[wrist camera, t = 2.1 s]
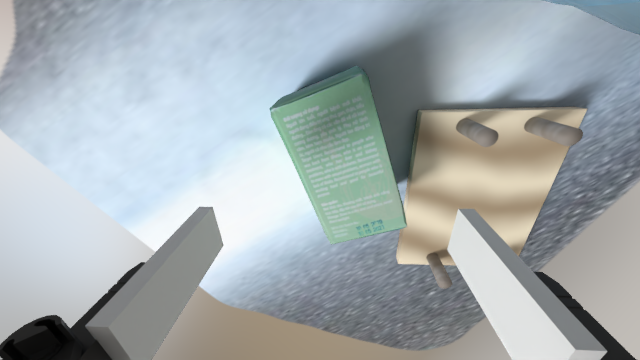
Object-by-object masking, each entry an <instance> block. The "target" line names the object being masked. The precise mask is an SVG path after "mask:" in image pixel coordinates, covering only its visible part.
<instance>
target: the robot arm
mask: <svg viewBox="0 0 640 360" xmlns="http://www.w3.org/2000/svg"><path fill="white" fill-rule="evenodd" d="M543 1H547V2H551V3H555V4H562V5H572V6H574V7H576V8H578V9H581V10H583V11H585V12H587V13H589V14H592V15H594V16H596V17H598V18H600V19H603V20H605V21H607V22H609V23H611V24H613V25H615V26H617V27H619V28H621V29H624V30H627V31H630V32H633V33H636V34H640V0H543ZM222 247H223V242H222V239H221V235H220V232H219V228H218V225H217V221H216V217H215V214H214V210H213V207H199V208H198V209H197V210H196V211H195V212H194V213H193V214H192V215H191V216H190V217H189V218H188V219H187V220H186V221H185V222H184V223H183V224H182V226H181V227H180V228H179V229H178V230H177V231H176V232H175V233H174V234H173V235H172V236H171V237H170V238H169V239H168V240H167V241H166V242H165V243H164V244H163V245H162V246H161V247H160V248H159V249H158V251H157V252H156V253H155V254H154V255H153V256H152V257H151V258H150V259H149V260H148V261H147V262H146V263H144V262H141V263H140V264H138V265H137V266H135V267H134V268H132V269H131V270H129V271H128V272H127V273H126V274H125V275H124V276H123V277H122V278H121V279H120V280H119V281H118V282H117V284H115V285H114V286H113V287H112V288H111V289H110V290H109V291H108V293H106V294H105V295H104V296H103V297H102V298H101V299H100V300H99V301H98V302H97V303H96V304H95V305H94V306H93V307H92V308H91V309H90V310H89V311H88V312H87V313H86V314H85V315H84V316H83V317H82V318H81V319H79V320H78V321H77V322H76V323H75V325H74V326H72V328H69V327H68V326H67V325H66V323H65V322H64V321H63V320H62V318H60V317H58V316H57V315H51V316H45V317H42V318H39V319H36V320H34V321H32V322H30V323H28V324H26V325H24V326H23V327H21V328H20V329H18V330H17V331H15V332H14V333H12V334H11V335H10V336H9V337H8V338H7V339H6V340H5V341H3V342H2V343H1V345H0V357H1V358H3V359H2V360H152V358H153V357H154V355H155V354H156V352H157V351H158V349H159V347H160V346H161V344H162V343H163V341H164V339H165V338H166V336H167V335H168V333H169V331H170V329H171V328H172V327H173V325H174V323H175V322H176V320H177V319H178V317H179V315H180V314H181V312H182V311H183V309H184V307H185V306H186V304H187V303H188V301H189V299H190V298H191V296H192V294H193V293H194V291H195V290H196V288H197V287H198V285H199V283H200V282H201V280H202V279H203V277H204V275H205V274H206V272H207V271H208V269H209V267H210V266H211V264H212V263H213V261H214V259H215V258H216V256H217V255H218V253H219V251H220V250H221V248H222ZM447 250H448V252H449V254H450V255H451V257H452V259H453V260H454V262H455V264H456V265H457V267H458V269H459V270H460V272H461V274H462V276H463V277H464V279H465V281H466V282H467V284H468V286H469V287H470V289H471V291H472V292H473V294H474V296H475V298H476V299H477V301H478V303H479V304H480V306H481V308H482V309H483V311H484V313H485V315H486V316H487V318H488V319H489V321H490V323H491V325H492V326H493V328H494V330H495V331H496V333H497V335H498V336H499V338H500V340H501V341H502V343H503V345H504V347H505V348H506V350H507V352H508V353H509V355H510V357H511V359H512V360H636V359H635V358H634V357H633V356H632V355H630V353H628V352H627V351H626V350H625V349H624V348H623V347H622V346H621V345H620V344H619V343H618V342H617V341H616V340H615V339H614V338H613V337H612V336H611V335H610V334H609V333H608V332H607V331H606V330H605V329H604V328H603V327H602V326H601V325H600V324H599V323H598V322H597V321H596V320H595V319H594V318H593V317H592V316H591V315H590V314H589V313H588V312H587V311H586V310H584V309H583V307H582V306H581V305H580V304H579V303H578V302H577V301H576V300H575V299H572V296H571V295H570V294H569V293H568V292H567V291H566V290H565V289H564V288H563V287H562V286H561V285H560V284H559V283H558V282H556V281H555V280H553V279H552V278H550V277H549V276H547V275H546V274H544V273H543V272H533V271H532V270H531V269H530V268H529V267H528V266H527V265H526V264H525V263H524V262H523V261H522V260H521V259H520V257H519V256H518V255H517V254H516V253H515V252H514V251H513V250H512V249H511V248H510V247H509V246H508V245H507V244H506V243H505V241H504V240H503V239H502V238H501V237H500V236H499V235H498V234H497V233H496V232H495V231H494V230H493V229H492V228H491V227H490V226H489V224H488V223H487V222H486V221H485V220H484V219H483V218H482V217H481V216H480V215H479V214H478V213H477V212H476V211H475V210H474V209H458V211H457V215H456V219H455V223H454V226H453V230H452V234H451V237H450V241H449V245H448V248H447Z"/></svg>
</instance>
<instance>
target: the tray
mask: <svg viewBox="0 0 640 360" xmlns="http://www.w3.org/2000/svg"><path fill="white" fill-rule="evenodd" d="M586 111H587V109H585V108H580V107H535V108H491V109H447V110H418V114H417V121H416V128H415V134H414V141H413V148H412V154H411V161H410V168H409V175H408V181H407V188H406V195H405V201H404V212H405V217H406V223H407V227H405V228H403V229H400V235H399V241H398V248H397V255H396V258H397V261H398V264H427V265H430V267H431V269H432V272H433V274H434V276H435V278H436V281H437V283H438V285H439V287H440V288H444V289H445V288H449V287H451V285H452V281H451V280H450V278H449V276H448V274H447V272H446V270H445V268H444V266H443V265H456V264H455V262H454V260H453V259H452V257H451V255H450V254H449V252H448V250H447V248H448V245H449V241H450V237H451V234H452V230H453V226H454V223H455V219H456V215H457V211H458V209H474V210H475V211H476V212H477V213H478V214H479V215H480V216H481V217H482V218H483V219H484V220H485V221H486V222H487V223H488V224H489V226H490V227H491V228H492V229H493V230H494V231H495V232H496V233H497V234H498V235H499V236H500V237H501V238H502V239H503V240H504V241H505V243H506V244H507V245H508V246H509V247H510V248H511V249H512V250H513V251H514V252H515V253H516V254H517V255H518V256H519V255H520V252H521V250H522V248H523V246H524V244H525V242H526V240H527V237H528V235H529V233H530V231H531V229H532V227H533V225H534V222H535V220H536V218H537V216H538V214H539V212H540V210H541V207H542V205H543V203H544V201H545V199H546V197H547V194H548V192H549V190H550V188H551V186H552V184H553V182H554V179H555V177H556V175H557V173H558V171H559V169H560V167H561V164H562V162H563V160H564V158H565V156H566V154H567V152H568V149H569V147H570V146H572V145H574V144H576V143H577V142H579V141H580V139H581V138H582V136H583V132H582V130H581V129H579V126H580V124H581V121H582V119H583V117H584V115H585V113H586Z"/></svg>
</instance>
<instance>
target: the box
mask: <svg viewBox="0 0 640 360" xmlns="http://www.w3.org/2000/svg"><path fill="white" fill-rule="evenodd" d="M270 111H271V117H272V119H273V121H274V123H275V125H276V127H277V129H278V131H279V134H280V136H281V138H282V140H283V142H284V144H285V146H286V148H287V150H288V153H289V155H290V157H291V159H292V161H293V163H294V165H295V168H296V170H297V172H298V174H299V176H300V179H301V181H302V183H303V185H304V188H305V190H306V192H307V194H308V196H309V199H310V201H311V203H312V205H313V208H314V210H315V212H316V214H317V217H318V219H319V221H320V223H321V225H322V228H323V230H324V232H325V234H326V236H327V238H328V240H329V241H330V243H331V244H335V243H340V242H344V241H349V240H353V239H358V238H362V237H366V236H371V235H375V234H380V233H384V232H389V231H393V230H398V229H403V228H405V227H407V223H406V217H405V212H404V208H403V204H402V201H401V197H400V193H399V190H398V186H397V182H396V179H395V175H394V172H393V168H392V164H391V161H390V157H389V154H388V150H387V146H386V143H385V139H384V135H383V132H382V128H381V125H380V121H379V117H378V114H377V110H376V107H375V103H374V99H373V96H372V92H371V89H370V83H369V78H368V76H367V75H366V73H365V71H364V70H363V69H361V68H360V67H358V66H354V67H352V68H350V69H348V70H345V71H343V72H341V73H338V74H336V75H334V76H331V77H329V78H327V79H324V80H322V81H319V82H317V83H315V84H312V85H310V86H308V87H305V88H303V89H300V90H298V91H296V92H293V93H291V94H289V95H286V96H284V97H282V98H281V99H279V100H278V101H277V102H276V103H275V104H274V105H273V106H272V107H271V108H270Z"/></svg>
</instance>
